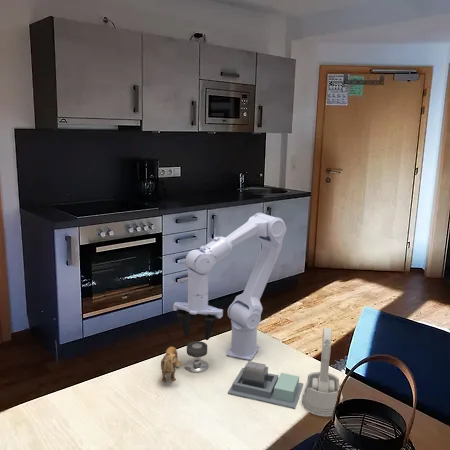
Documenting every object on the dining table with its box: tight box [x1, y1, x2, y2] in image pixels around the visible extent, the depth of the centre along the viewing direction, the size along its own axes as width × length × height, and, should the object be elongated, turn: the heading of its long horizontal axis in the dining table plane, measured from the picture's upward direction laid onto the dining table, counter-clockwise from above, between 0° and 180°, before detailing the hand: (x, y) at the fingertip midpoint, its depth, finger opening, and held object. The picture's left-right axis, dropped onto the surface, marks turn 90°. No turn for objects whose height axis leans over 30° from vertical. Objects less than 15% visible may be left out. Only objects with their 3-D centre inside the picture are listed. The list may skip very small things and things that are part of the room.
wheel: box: [186, 340, 208, 358], centre depth 136 cm, size 6×6×2 cm
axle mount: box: [184, 357, 210, 374], centre depth 137 cm, size 7×7×2 cm
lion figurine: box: [160, 346, 182, 383], centre depth 132 cm, size 15×5×9 cm, turn 9°
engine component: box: [301, 326, 344, 417], centre depth 119 cm, size 11×20×10 cm
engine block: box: [242, 360, 269, 389], centre depth 127 cm, size 4×6×6 cm
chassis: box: [227, 367, 304, 410], centre depth 126 cm, size 12×18×3 cm, turn 71°
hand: (197, 336), depth 135 cm, fingers open, 6 cm apart
